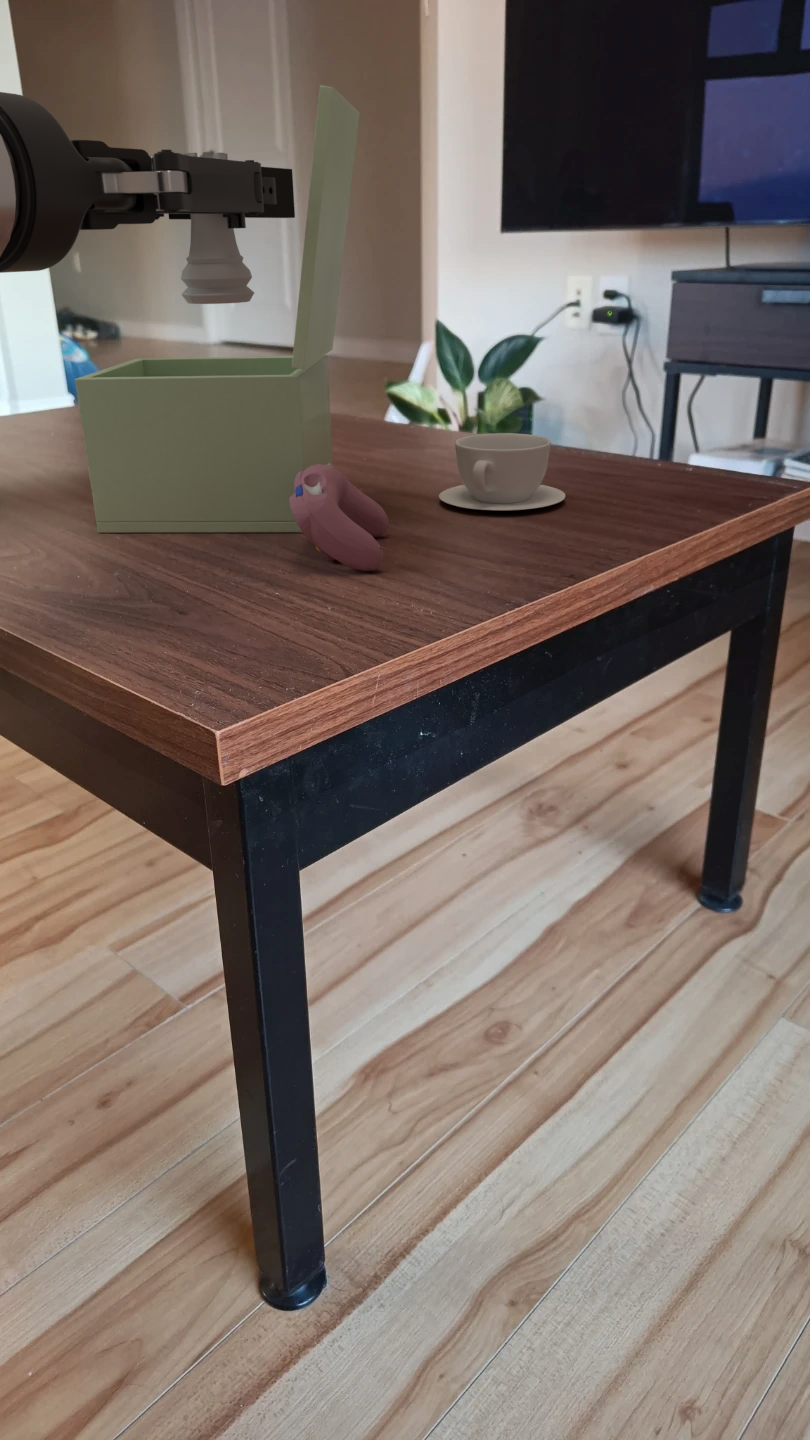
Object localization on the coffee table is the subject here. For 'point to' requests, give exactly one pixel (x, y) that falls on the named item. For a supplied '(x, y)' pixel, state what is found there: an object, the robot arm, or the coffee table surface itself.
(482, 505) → the teacup
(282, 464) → the storage chest
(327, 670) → the coffee table surface
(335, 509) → the video game controller
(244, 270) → the rook chess piece
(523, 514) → the coffee table surface
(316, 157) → the chest lid
